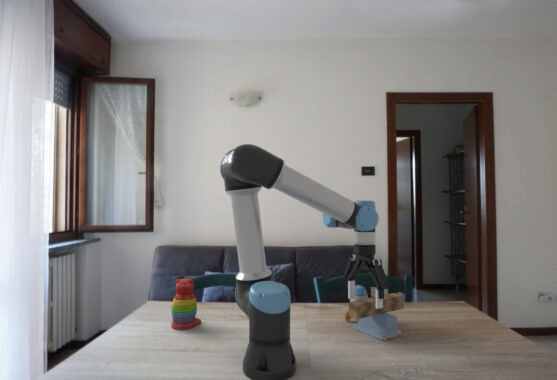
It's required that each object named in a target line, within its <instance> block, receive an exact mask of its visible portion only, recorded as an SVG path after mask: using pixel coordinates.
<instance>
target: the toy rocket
mask: <svg viewBox="0 0 557 380" xmlns="http://www.w3.org/2000/svg"><path fill="white" fill-rule="evenodd" d="M367 298H369V296H368V291H367V290H366V288H365V287H364V286H363V285H360V284H357V285H356V284H355V298H353V299H349V302H351V301H356V300H361V299H367ZM344 317H345V318H344V319H345V320H344V321H345V322H346V321H348V322H349V321H350V320H351V319H352V317H350V316H349V309H348V310H347V311H346V312H345V315H344Z"/></svg>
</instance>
